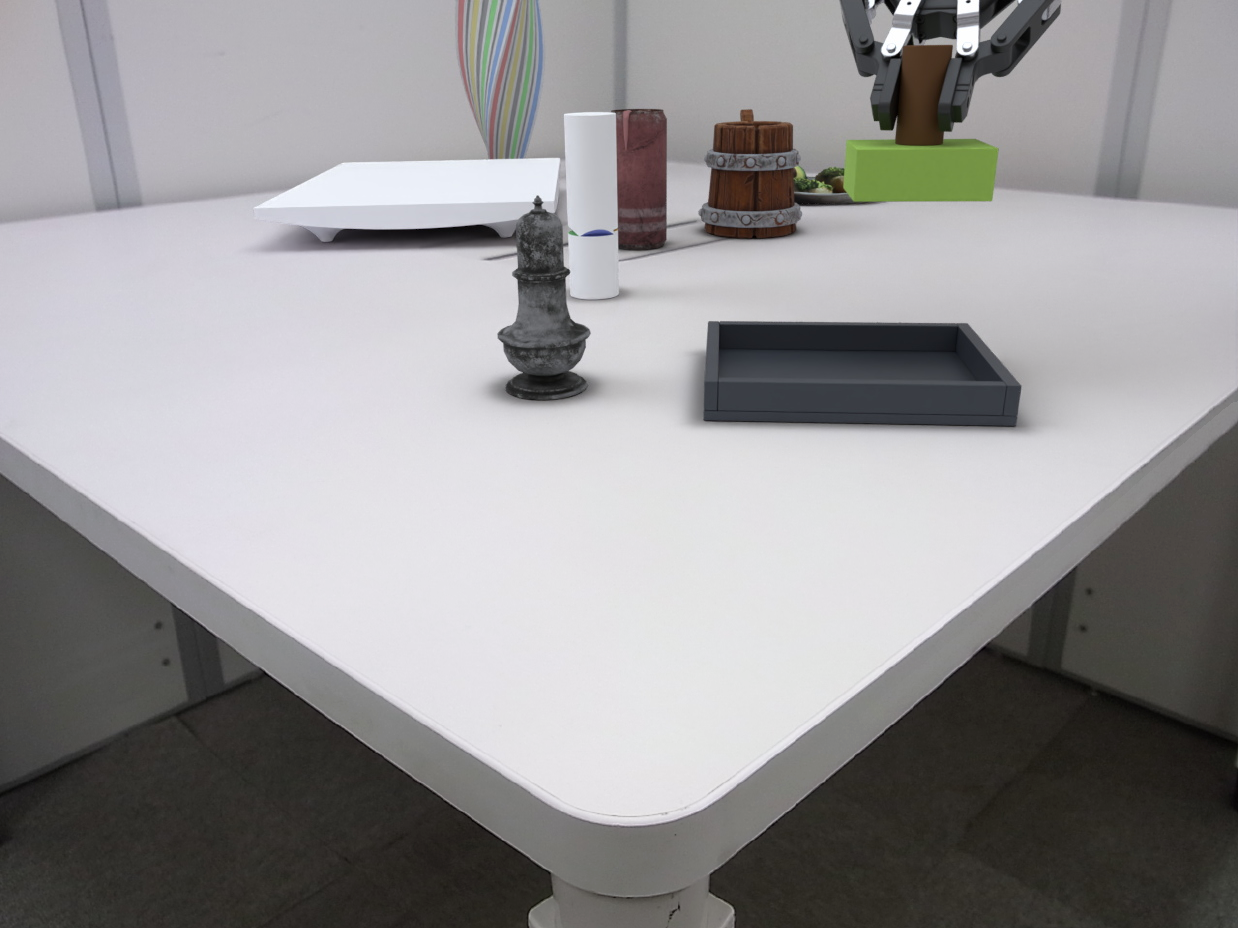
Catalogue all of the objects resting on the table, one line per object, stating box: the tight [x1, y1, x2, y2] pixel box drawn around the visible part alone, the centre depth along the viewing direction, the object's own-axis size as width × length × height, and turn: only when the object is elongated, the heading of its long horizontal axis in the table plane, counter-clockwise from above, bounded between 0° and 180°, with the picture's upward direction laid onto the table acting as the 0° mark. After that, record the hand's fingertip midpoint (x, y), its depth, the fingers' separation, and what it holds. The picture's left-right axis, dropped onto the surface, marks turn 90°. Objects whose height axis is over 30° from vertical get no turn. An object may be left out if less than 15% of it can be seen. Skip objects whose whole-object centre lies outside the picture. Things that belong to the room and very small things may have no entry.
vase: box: [454, 0, 546, 159], centre depth 160 cm, size 14×14×30 cm
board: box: [252, 157, 562, 243], centre depth 130 cm, size 45×32×5 cm
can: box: [610, 108, 668, 251], centre depth 107 cm, size 6×6×14 cm
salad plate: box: [793, 164, 867, 206], centre depth 141 cm, size 19×18×5 cm
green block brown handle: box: [843, 44, 1000, 203], centre depth 60 cm, size 8×6×8 cm
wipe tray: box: [703, 320, 1022, 427], centre depth 64 cm, size 18×14×2 cm
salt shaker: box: [497, 195, 592, 401], centre depth 63 cm, size 6×6×12 cm
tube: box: [563, 111, 620, 300], centre depth 86 cm, size 4×4×15 cm
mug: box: [697, 108, 803, 239], centre depth 116 cm, size 12×14×15 cm
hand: (915, 120), depth 59 cm, fingers closed on green block brown handle, 3 cm apart
